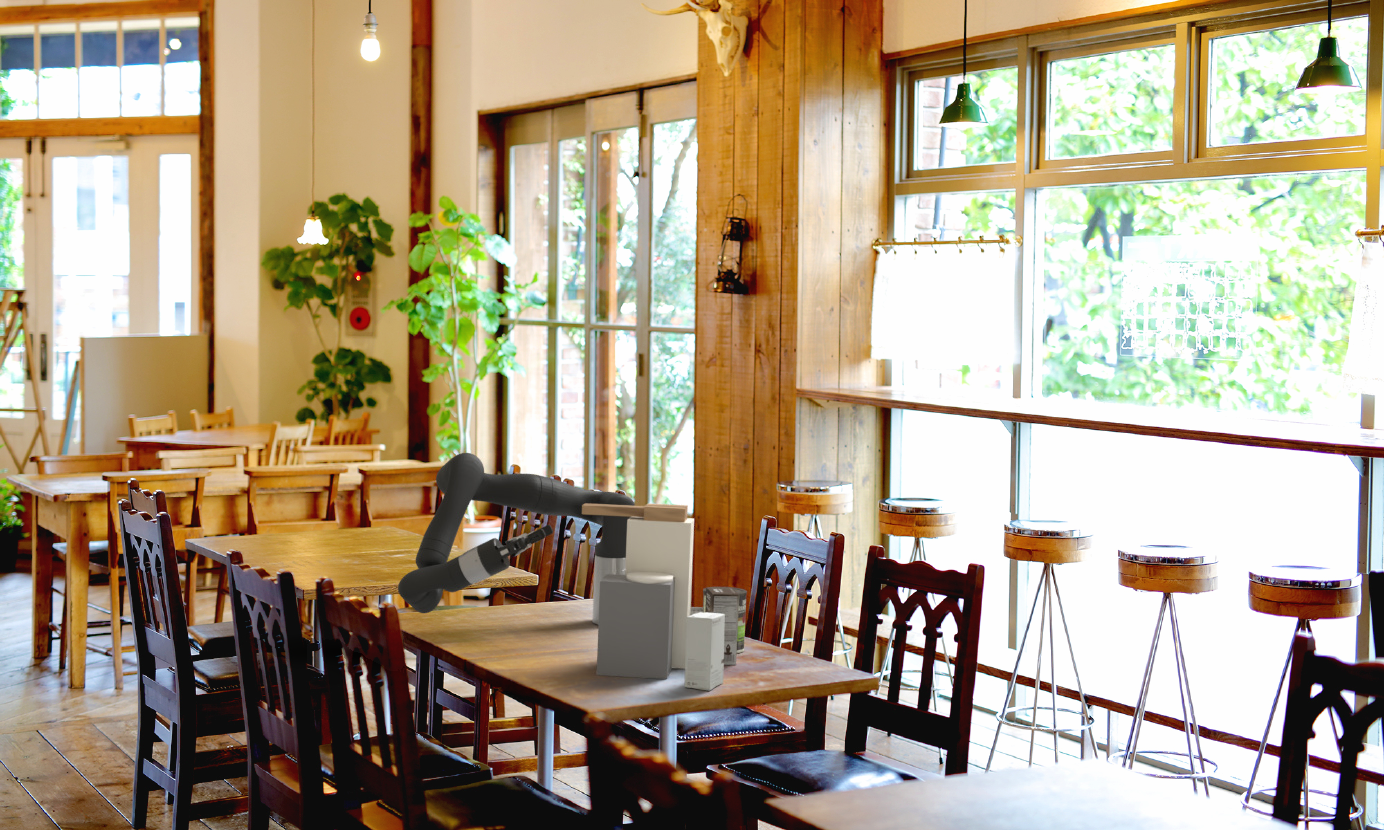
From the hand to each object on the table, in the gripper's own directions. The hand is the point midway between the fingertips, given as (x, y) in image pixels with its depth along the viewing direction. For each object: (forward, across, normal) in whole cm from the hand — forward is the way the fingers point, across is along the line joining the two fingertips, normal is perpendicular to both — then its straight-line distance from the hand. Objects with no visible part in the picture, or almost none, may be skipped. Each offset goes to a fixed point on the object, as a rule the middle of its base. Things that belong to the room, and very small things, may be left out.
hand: (547, 530), depth 292 cm
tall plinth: (+9, 0, +37) cm, 38 cm away
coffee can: (+21, +18, +44) cm, 51 cm away
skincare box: (+20, -18, +43) cm, 51 cm away
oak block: (+19, 0, +6) cm, 20 cm away
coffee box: (+21, +6, +44) cm, 49 cm away
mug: (+16, +30, +40) cm, 53 cm away
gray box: (+6, -10, +35) cm, 37 cm away
